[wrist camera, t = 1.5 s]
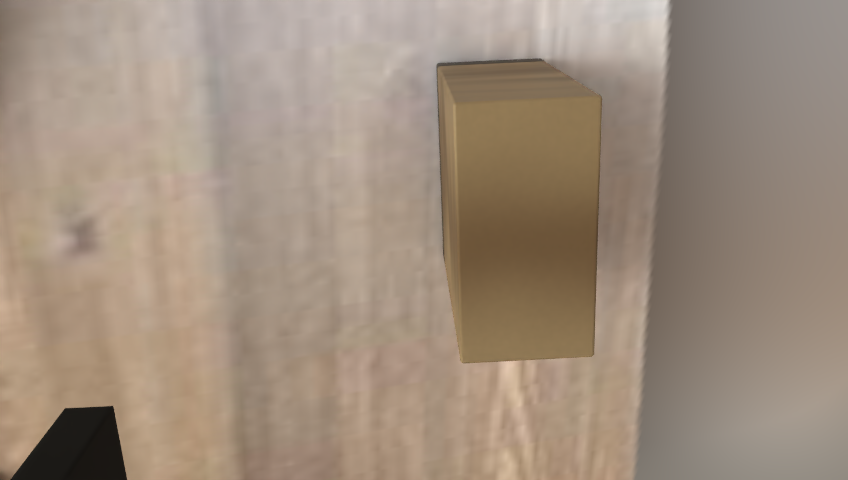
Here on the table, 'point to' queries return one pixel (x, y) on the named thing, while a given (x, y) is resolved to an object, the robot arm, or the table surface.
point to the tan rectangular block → (519, 208)
